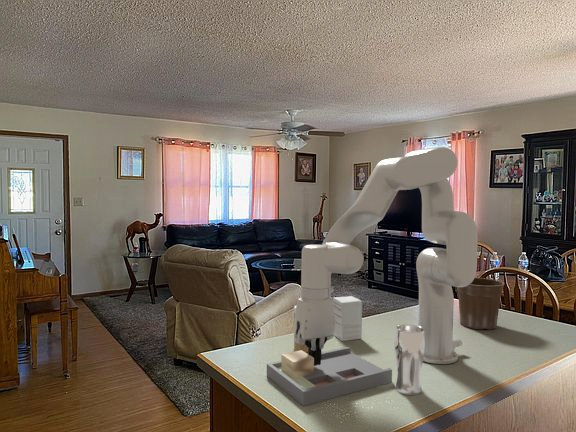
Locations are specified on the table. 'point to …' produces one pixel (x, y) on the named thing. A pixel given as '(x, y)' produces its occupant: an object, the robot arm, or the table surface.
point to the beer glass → (409, 358)
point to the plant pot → (480, 303)
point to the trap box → (330, 377)
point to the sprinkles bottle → (297, 346)
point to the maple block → (297, 364)
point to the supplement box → (347, 318)
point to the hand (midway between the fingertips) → (314, 363)
